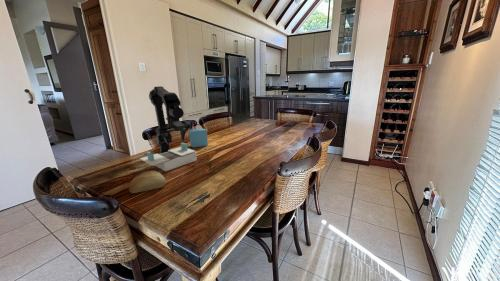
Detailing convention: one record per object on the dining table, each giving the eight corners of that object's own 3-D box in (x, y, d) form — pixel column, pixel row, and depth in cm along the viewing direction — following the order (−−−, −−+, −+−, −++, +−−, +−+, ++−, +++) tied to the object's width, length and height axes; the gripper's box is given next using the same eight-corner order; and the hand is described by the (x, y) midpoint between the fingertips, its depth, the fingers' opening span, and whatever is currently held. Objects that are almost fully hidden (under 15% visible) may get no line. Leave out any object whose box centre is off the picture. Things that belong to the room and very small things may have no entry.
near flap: (140, 159, 114) (138, 151, 113) (157, 154, 121) (155, 147, 120) (151, 165, 105) (150, 157, 104) (169, 160, 112) (168, 152, 111)
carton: (152, 164, 120) (151, 156, 119) (183, 154, 135) (182, 147, 133) (165, 171, 111) (164, 162, 109) (196, 160, 125) (196, 152, 124)
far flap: (168, 151, 126) (167, 144, 125) (182, 147, 133) (181, 140, 132) (181, 156, 117) (180, 148, 116) (195, 151, 124) (194, 144, 123)
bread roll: (129, 189, 94) (125, 173, 91) (164, 180, 101) (161, 165, 99) (130, 199, 86) (127, 181, 83) (168, 188, 93) (166, 172, 91)
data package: (207, 144, 156) (205, 128, 153) (207, 145, 152) (206, 129, 149) (190, 145, 153) (188, 130, 149) (191, 147, 149) (189, 131, 145)
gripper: (162, 120, 104) (166, 149, 109) (194, 115, 117) (197, 141, 122) (153, 117, 112) (157, 145, 116) (184, 113, 125) (187, 138, 129)
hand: (175, 142), depth 121 cm, fingers open, 9 cm apart
